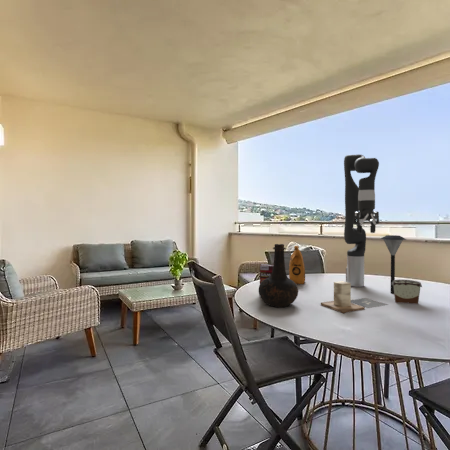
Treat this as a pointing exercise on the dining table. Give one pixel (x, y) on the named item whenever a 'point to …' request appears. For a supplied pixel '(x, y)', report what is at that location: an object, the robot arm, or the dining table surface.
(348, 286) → the birch block
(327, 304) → the walnut board
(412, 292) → the food container
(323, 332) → the dining table surface
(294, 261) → the coffee package
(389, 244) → the solar garden light
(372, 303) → the tile
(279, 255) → the glass bottle
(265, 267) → the supplement box
